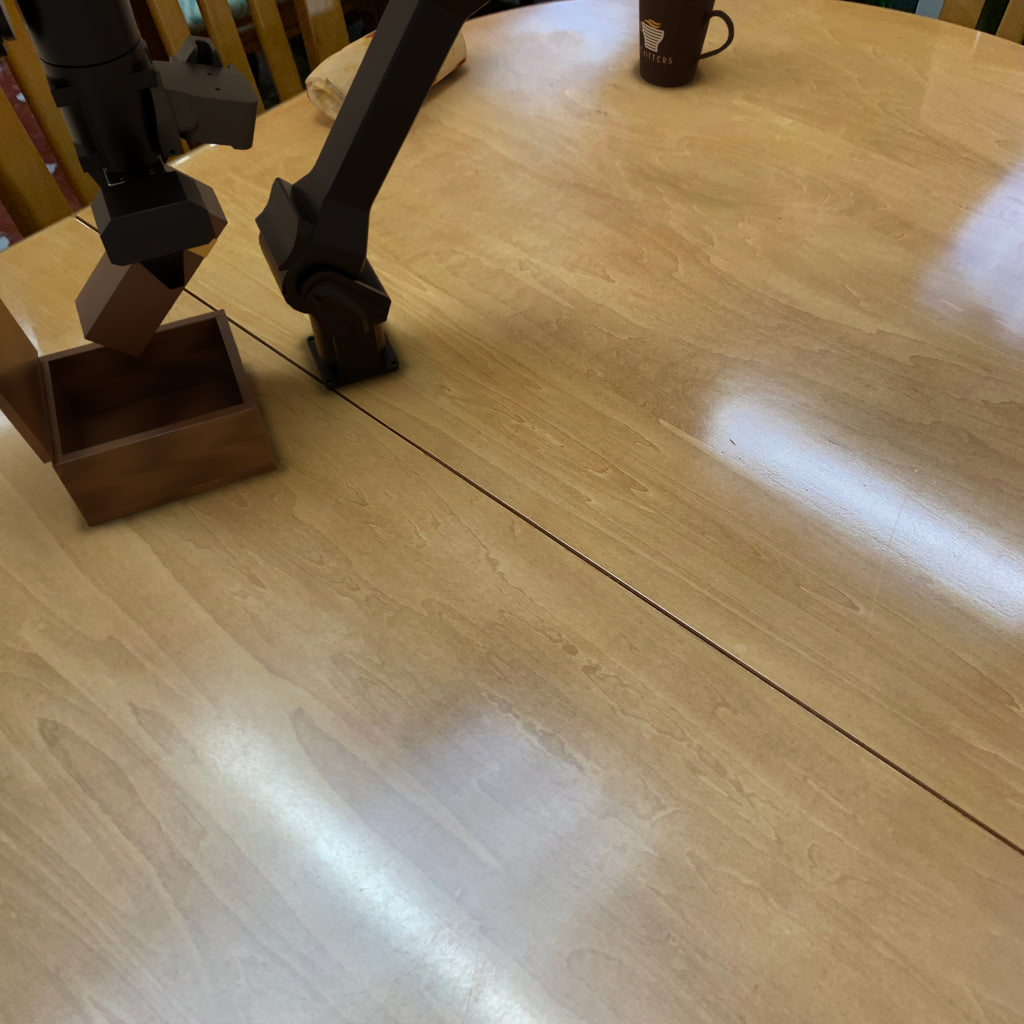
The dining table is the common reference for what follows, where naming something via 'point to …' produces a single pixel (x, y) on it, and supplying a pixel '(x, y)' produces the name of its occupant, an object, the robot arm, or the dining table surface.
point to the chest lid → (23, 386)
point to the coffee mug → (675, 39)
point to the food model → (340, 69)
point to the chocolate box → (137, 292)
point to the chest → (153, 419)
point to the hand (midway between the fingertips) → (169, 267)
